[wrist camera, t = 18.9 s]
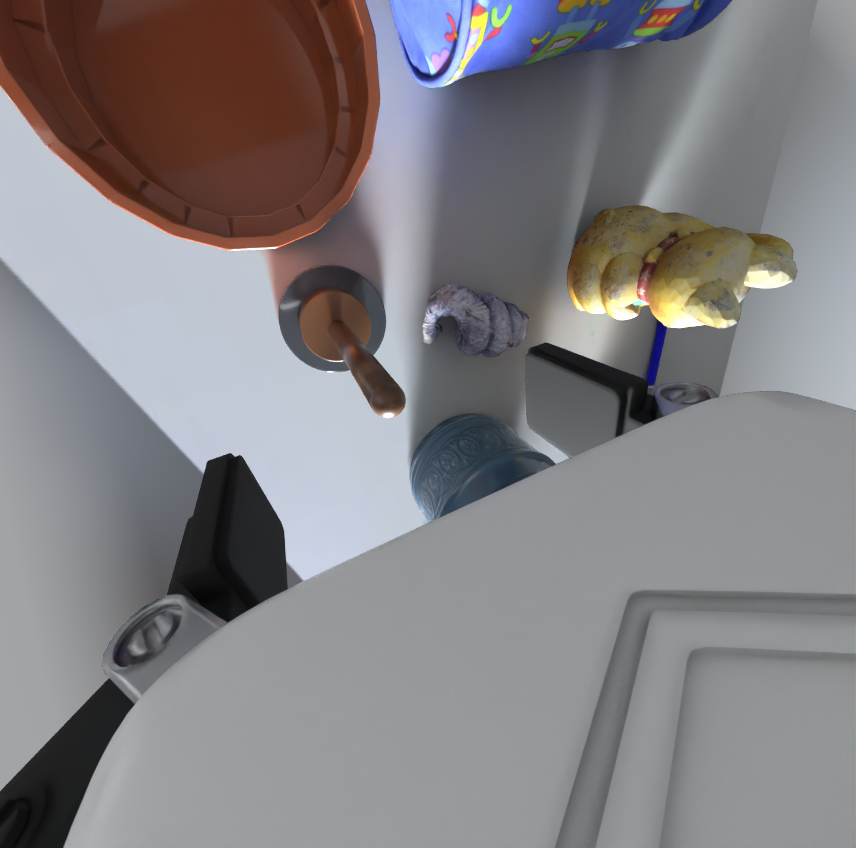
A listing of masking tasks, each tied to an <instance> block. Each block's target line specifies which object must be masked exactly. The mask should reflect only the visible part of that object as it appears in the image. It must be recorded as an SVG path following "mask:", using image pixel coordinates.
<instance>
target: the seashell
mask: <svg viewBox="0 0 856 848" xmlns="http://www.w3.org/2000/svg"><path fill="white" fill-rule="evenodd" d="M427 303H428V304H427V309H426V312H425V316H424V321H423V336H424V341H423V342H425V343H427V344H431V343H432V342H433V341H434V340H435V339H436V337H437V336H438V334H440V333H441V332H442V331H443V330H442V326H441V325H440V324H439V318H440V317H442V316H446V317H447V316H452V317H454V319H455V320H456V321H457V326H456V335H455V338H456V343H457V345H458V347H459V349H460V350H462V351H463V352H464V353H465V354H467V355H473V356H475V355H478V354H480V353H481V354H482V355H483V356H486V357H489V358H491V357H495V356H498V355H499V354H501V353H502V352H503V351H504V349H505V348H506V347H507V346H508V347H510V348H512V347H517V346H519V345H520V343H521V341H523V340H524V339H525V338H526V333H527V324H528V319H529V317H528V315H527V314H525V313H524V312H522V311H520V310H519V309H518V308H517V307H516V306H515V305H514V304H510V303H507V302H503V301H502V300H500V299H499V298H498V297H496V296H495V295H493V294H491V293H485V294H479V295H477V296H476V295H475V294H474V292H473V291H471V292H470V290H469V289H467V288H465V287H463V286H460V285H458V286H457V285H456V284H452V283H450V284H447V285H445V286H443V287H442V288H441V289H439V290H438V291H436V292H435V293H434V294H433V295H431V296H430V298H429V299H428V302H427Z"/></svg>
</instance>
